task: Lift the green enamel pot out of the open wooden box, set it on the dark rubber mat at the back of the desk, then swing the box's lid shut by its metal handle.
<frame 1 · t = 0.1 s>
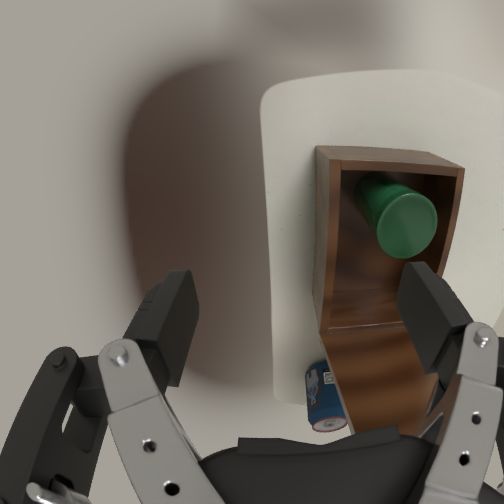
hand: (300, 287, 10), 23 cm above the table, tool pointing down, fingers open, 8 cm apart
wooden box: (371, 226, 33), on the table
green pot: (377, 195, 30), point 1 cm above the table, touching wooden box
soda can: (323, 368, 47), on the table
lid: (408, 390, 20), point 19 cm above the table, hinge at 65.0°
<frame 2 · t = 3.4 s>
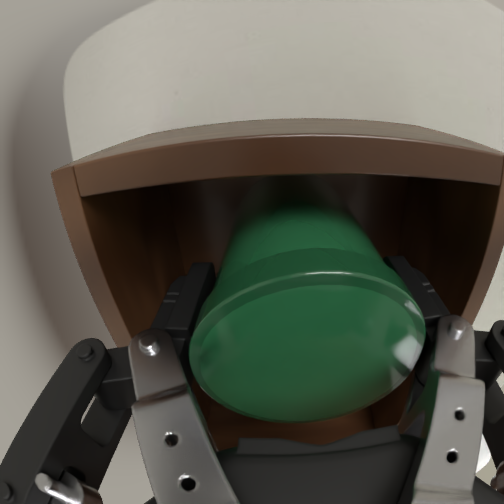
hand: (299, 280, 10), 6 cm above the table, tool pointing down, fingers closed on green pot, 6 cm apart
wooden box: (291, 285, 18), on the table
green pot: (292, 227, 14), point 1 cm above the table, touching gripper, wooden box
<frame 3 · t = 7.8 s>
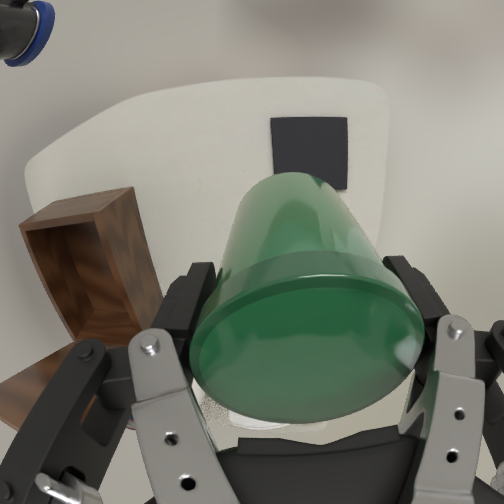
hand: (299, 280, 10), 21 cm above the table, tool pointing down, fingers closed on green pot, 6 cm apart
wooden box: (108, 259, 37), on the table
green pot: (292, 228, 15), point 17 cm above the table, touching gripper
photo printer: (263, 364, 46), on the table
mat: (310, 153, 28), on the table
lid: (70, 396, 24), point 19 cm above the table, hinge at 65.0°
when the fingers open (5 cm above the table, at t = 12.1 s): green pot stays where it is, resting on mat.
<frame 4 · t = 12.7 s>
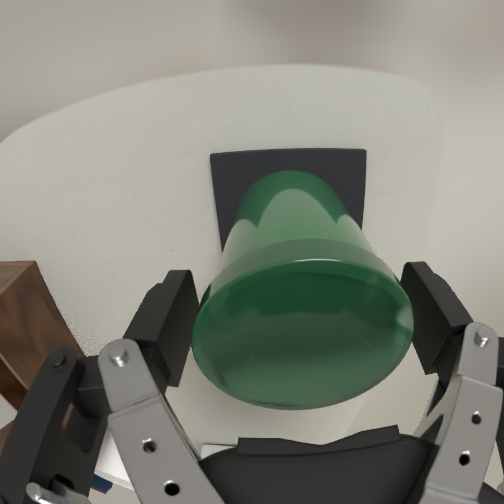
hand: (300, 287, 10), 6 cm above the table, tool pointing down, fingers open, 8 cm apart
wooden box: (36, 335, 24), on the table
green pot: (290, 224, 15), resting on mat
soda can: (108, 435, 38), on the table
mat: (291, 220, 15), on the table
cup: (137, 429, 33), on the table
lid: (14, 489, 11), point 19 cm above the table, hinge at 65.0°
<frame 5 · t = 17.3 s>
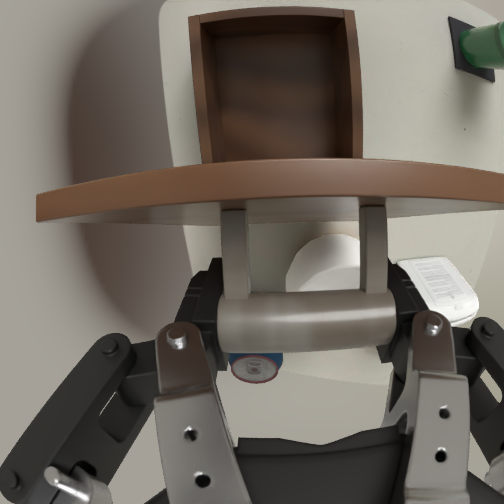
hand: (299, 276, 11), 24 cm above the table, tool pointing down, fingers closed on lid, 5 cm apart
wooden box: (278, 108, 28), on the table
green pot: (474, 49, 20), resting on mat
soda can: (259, 307, 43), on the table
photo printer: (419, 267, 37), on the table
mat: (473, 49, 20), on the table
cup: (328, 260, 38), on the table
lid: (292, 248, 16), point 19 cm above the table, hinge at 65.0°, touching gripper
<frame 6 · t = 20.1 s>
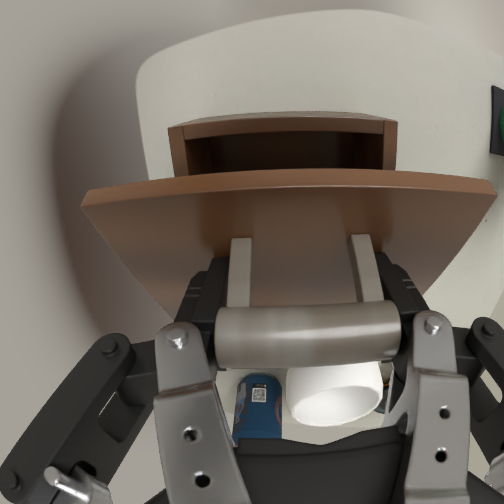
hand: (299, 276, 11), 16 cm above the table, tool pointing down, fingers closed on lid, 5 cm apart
wooden box: (284, 216, 27), on the table
soda can: (260, 381, 42), on the table
cup: (328, 348, 37), on the table
computer mouse: (401, 383, 42), on the table
lid: (294, 349, 15), point 15 cm above the table, hinge at 25.6°, touching gripper
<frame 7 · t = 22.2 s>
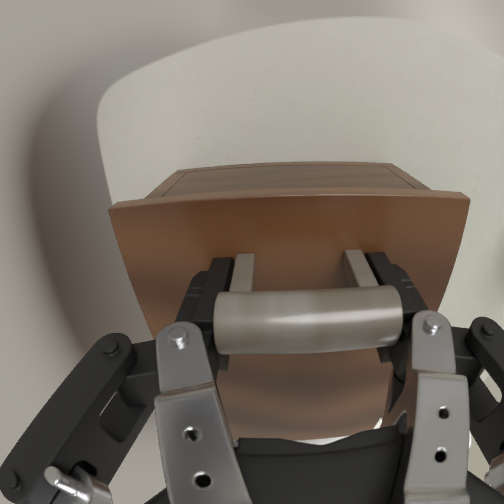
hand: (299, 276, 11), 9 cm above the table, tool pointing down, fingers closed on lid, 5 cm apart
wooden box: (289, 288, 22), on the table
cup: (331, 403, 32), on the table
lid: (295, 404, 13), point 11 cm above the table, hinge at -0.1°, touching gripper
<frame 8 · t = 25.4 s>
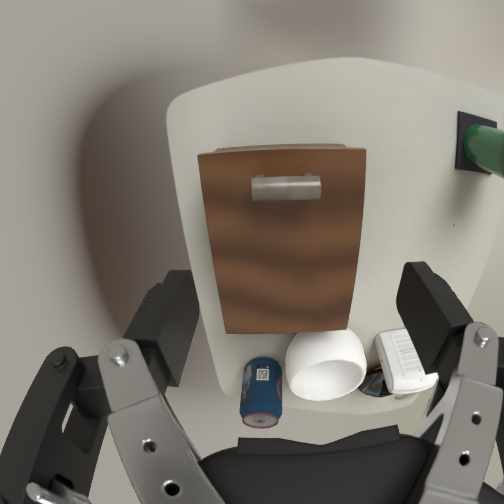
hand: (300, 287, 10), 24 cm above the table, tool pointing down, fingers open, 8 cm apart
wooden box: (283, 224, 35), on the table
green pot: (478, 144, 26), resting on mat
soda can: (263, 365, 49), on the table
photo printer: (399, 334, 44), on the table
mat: (476, 143, 27), on the table
cup: (320, 334, 44), on the table
computer mouse: (389, 369, 49), on the table
lid: (287, 267, 26), point 11 cm above the table, hinge at -0.1°, touching wooden box
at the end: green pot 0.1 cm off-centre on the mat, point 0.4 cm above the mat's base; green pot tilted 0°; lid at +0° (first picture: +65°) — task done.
